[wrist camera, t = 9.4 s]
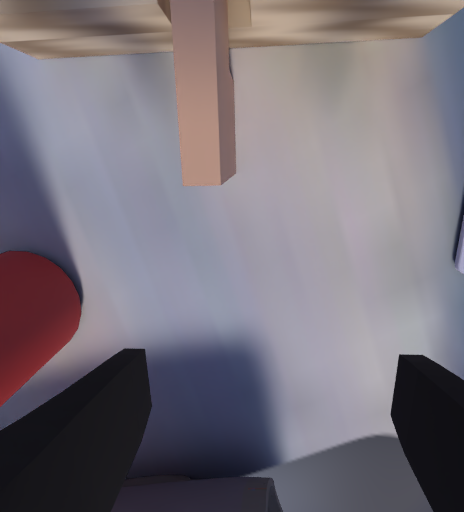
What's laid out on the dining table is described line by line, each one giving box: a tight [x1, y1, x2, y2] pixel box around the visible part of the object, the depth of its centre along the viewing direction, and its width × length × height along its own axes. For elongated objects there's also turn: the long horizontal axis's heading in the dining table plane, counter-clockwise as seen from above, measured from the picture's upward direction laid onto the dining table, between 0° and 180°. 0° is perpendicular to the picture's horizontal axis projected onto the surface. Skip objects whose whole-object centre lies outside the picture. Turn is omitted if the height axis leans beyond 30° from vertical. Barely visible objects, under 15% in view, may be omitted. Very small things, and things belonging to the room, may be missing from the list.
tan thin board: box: [170, 0, 236, 186], centre depth 12 cm, size 1×12×7 cm, turn 2°
